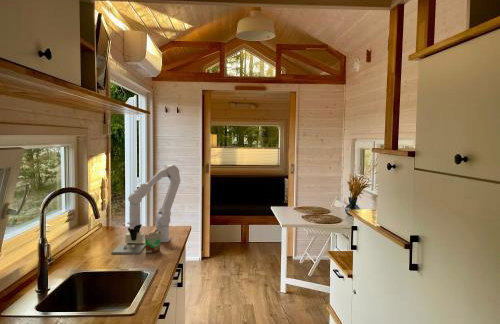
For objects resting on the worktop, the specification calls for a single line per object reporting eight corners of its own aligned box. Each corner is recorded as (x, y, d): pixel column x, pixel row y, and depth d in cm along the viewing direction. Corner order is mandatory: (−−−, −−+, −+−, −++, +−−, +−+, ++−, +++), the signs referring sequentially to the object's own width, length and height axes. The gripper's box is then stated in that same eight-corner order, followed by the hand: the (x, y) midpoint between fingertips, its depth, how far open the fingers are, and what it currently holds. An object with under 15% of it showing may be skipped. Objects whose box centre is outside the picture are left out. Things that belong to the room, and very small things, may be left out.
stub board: (119, 246, 200) (119, 241, 200) (145, 246, 201) (145, 241, 201) (111, 254, 186) (111, 248, 186) (139, 254, 187) (139, 248, 187)
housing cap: (127, 240, 208) (127, 232, 207) (144, 240, 208) (144, 232, 208) (125, 242, 203) (125, 234, 202) (142, 242, 203) (142, 234, 203)
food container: (155, 255, 185) (155, 235, 185) (144, 254, 186) (144, 235, 186) (166, 248, 197) (166, 230, 197) (155, 247, 199) (155, 229, 198)
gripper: (130, 212, 211) (130, 235, 212) (123, 217, 197) (124, 242, 198) (143, 212, 212) (143, 235, 213) (137, 217, 198) (137, 242, 198)
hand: (134, 239), depth 205 cm, fingers closed on housing cap, 5 cm apart
